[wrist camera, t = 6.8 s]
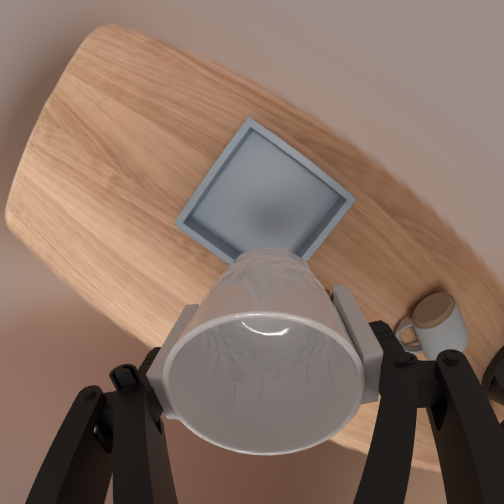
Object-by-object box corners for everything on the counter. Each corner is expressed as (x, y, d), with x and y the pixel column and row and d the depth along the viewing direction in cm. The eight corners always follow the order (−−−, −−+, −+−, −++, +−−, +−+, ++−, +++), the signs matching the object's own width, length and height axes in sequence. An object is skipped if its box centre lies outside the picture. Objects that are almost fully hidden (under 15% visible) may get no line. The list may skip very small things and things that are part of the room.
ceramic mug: (439, 281, 36) (465, 303, 29) (454, 318, 38) (477, 343, 31) (383, 322, 39) (400, 352, 32) (402, 356, 40) (418, 386, 33)
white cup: (336, 243, 18) (392, 320, 9) (316, 347, 21) (336, 457, 11) (213, 231, 19) (153, 297, 9) (209, 336, 21) (171, 442, 11)
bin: (348, 195, 34) (356, 198, 31) (276, 285, 38) (276, 298, 34) (251, 122, 33) (248, 116, 29) (183, 218, 37) (173, 224, 33)
